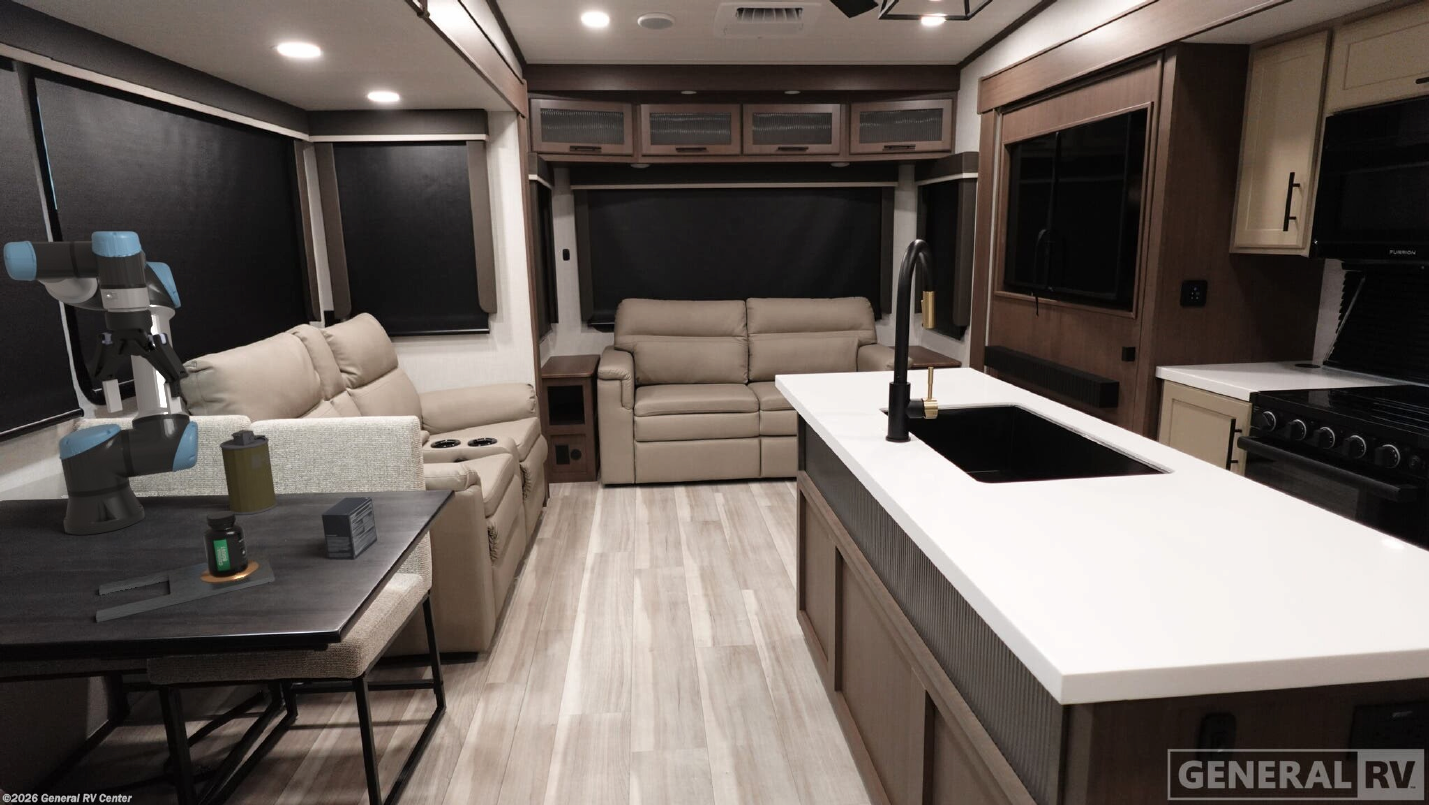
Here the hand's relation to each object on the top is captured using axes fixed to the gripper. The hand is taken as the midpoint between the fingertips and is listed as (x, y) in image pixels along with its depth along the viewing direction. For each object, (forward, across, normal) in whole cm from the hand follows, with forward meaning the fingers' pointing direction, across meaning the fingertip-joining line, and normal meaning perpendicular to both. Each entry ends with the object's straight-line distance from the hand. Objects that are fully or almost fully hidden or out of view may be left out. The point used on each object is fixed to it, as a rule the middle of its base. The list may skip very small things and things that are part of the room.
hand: (145, 412), depth 158 cm
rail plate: (+32, +16, -13) cm, 38 cm away
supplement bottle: (+31, +21, -8) cm, 38 cm away
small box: (+32, +38, +7) cm, 50 cm away
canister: (+32, -2, +29) cm, 43 cm away
